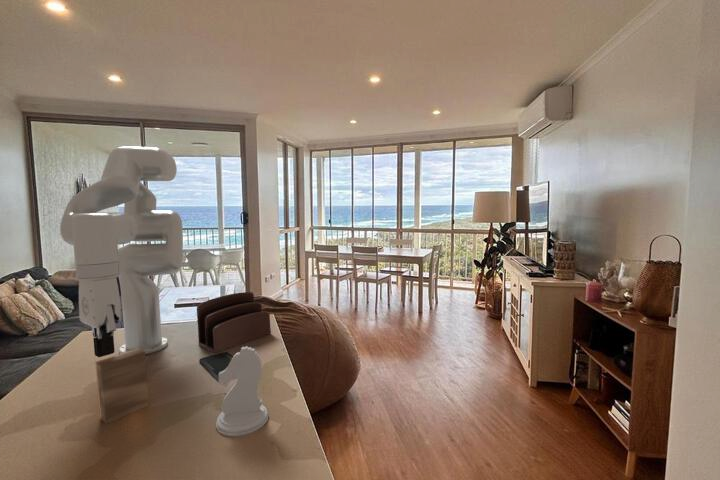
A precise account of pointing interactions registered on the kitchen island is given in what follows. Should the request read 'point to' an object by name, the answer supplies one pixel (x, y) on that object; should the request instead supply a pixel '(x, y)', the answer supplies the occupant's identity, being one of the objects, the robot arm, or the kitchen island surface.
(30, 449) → the kitchen island surface
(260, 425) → the chess piece
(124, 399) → the tan flat block
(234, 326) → the letter holder
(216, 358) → the phone
